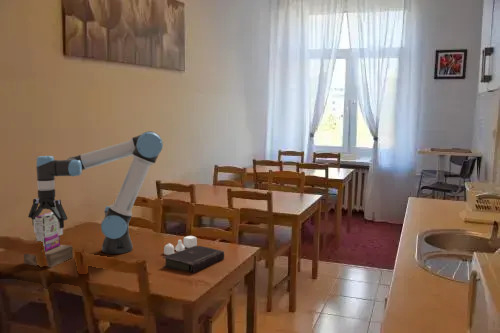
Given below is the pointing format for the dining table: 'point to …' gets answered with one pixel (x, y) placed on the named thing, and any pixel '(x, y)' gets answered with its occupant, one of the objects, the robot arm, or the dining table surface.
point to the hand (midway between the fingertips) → (48, 233)
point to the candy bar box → (47, 231)
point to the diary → (193, 258)
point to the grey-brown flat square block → (52, 256)
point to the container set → (181, 245)
